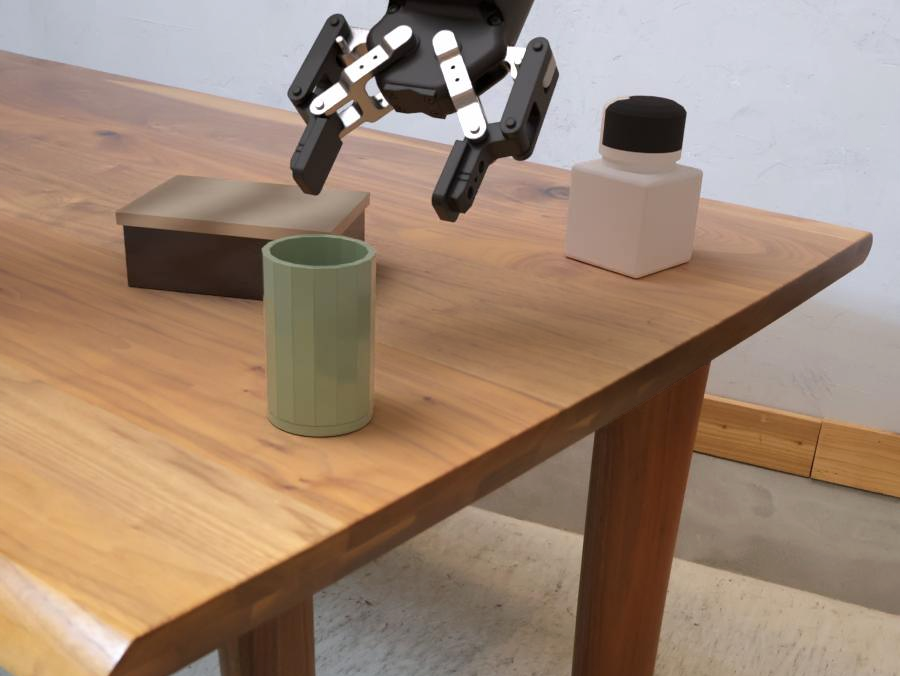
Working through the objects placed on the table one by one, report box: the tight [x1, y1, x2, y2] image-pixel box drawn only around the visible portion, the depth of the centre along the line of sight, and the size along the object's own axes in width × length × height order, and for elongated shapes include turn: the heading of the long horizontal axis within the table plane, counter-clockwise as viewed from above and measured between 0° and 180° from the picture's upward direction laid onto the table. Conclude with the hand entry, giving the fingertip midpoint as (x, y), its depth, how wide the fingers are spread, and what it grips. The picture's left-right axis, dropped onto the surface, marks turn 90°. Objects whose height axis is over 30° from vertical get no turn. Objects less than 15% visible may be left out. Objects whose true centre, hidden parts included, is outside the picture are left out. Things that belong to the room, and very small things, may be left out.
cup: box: [262, 234, 377, 438], centre depth 59 cm, size 6×6×9 cm
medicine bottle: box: [563, 94, 704, 279], centre depth 86 cm, size 7×7×12 cm
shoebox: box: [115, 174, 371, 301], centre depth 80 cm, size 15×11×5 cm
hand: (371, 200), depth 61 cm, fingers open, 8 cm apart
